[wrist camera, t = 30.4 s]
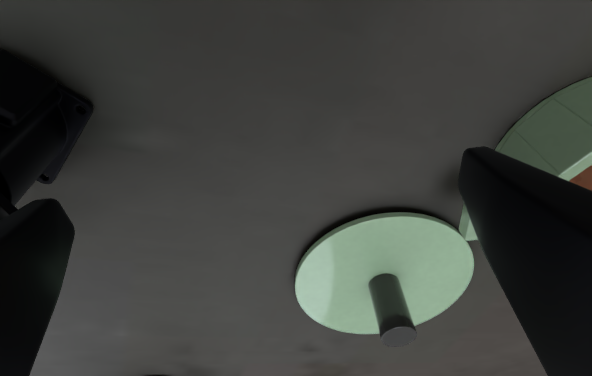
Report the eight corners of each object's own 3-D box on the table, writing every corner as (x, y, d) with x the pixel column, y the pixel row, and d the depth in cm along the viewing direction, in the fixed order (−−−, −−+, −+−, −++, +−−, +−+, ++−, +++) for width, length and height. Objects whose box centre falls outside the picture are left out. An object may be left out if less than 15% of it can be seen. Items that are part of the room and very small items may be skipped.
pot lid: (455, 314, 34) (482, 376, 30) (303, 330, 35) (307, 394, 30) (483, 195, 26) (526, 256, 22) (283, 218, 26) (285, 283, 22)
